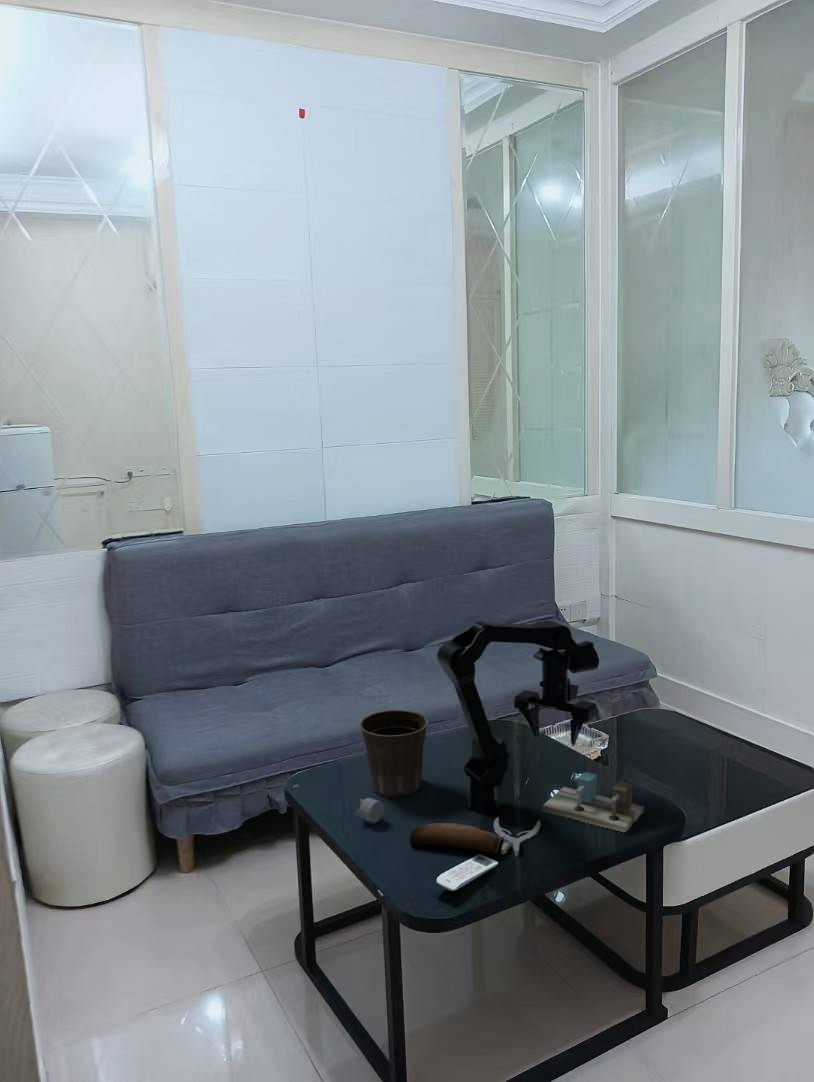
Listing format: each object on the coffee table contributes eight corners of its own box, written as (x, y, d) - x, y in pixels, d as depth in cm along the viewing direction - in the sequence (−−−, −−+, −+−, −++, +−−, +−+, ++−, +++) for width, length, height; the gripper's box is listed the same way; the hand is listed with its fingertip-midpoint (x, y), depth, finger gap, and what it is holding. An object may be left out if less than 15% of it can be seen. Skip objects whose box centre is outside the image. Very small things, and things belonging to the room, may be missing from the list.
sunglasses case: (503, 835, 180) (499, 816, 176) (498, 865, 175) (494, 847, 170) (420, 825, 185) (415, 807, 181) (413, 855, 180) (407, 837, 176)
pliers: (541, 817, 186) (534, 852, 171) (541, 824, 186) (534, 859, 171) (495, 813, 188) (485, 847, 174) (495, 820, 188) (485, 855, 174)
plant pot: (415, 806, 195) (413, 738, 193) (350, 796, 201) (348, 730, 199) (439, 776, 210) (437, 713, 208) (378, 768, 216) (376, 707, 214)
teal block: (584, 808, 187) (584, 786, 186) (571, 804, 188) (571, 783, 188) (596, 795, 192) (597, 774, 192) (584, 792, 194) (584, 771, 193)
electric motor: (372, 811, 193) (371, 790, 192) (387, 817, 190) (387, 796, 189) (350, 823, 188) (349, 801, 187) (366, 829, 185) (365, 808, 184)
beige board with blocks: (625, 833, 180) (625, 802, 179) (542, 811, 191) (542, 781, 189) (643, 812, 189) (644, 782, 187) (564, 792, 199) (564, 764, 198)
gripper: (607, 672, 198) (606, 737, 200) (534, 661, 209) (534, 722, 211) (587, 686, 189) (587, 753, 192) (512, 673, 200) (513, 737, 202)
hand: (555, 740), depth 199 cm, fingers open, 9 cm apart
